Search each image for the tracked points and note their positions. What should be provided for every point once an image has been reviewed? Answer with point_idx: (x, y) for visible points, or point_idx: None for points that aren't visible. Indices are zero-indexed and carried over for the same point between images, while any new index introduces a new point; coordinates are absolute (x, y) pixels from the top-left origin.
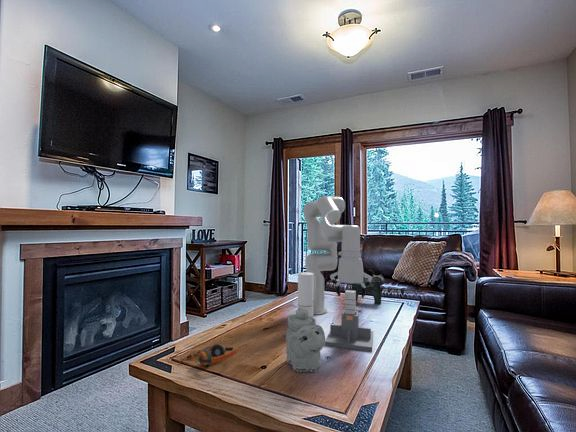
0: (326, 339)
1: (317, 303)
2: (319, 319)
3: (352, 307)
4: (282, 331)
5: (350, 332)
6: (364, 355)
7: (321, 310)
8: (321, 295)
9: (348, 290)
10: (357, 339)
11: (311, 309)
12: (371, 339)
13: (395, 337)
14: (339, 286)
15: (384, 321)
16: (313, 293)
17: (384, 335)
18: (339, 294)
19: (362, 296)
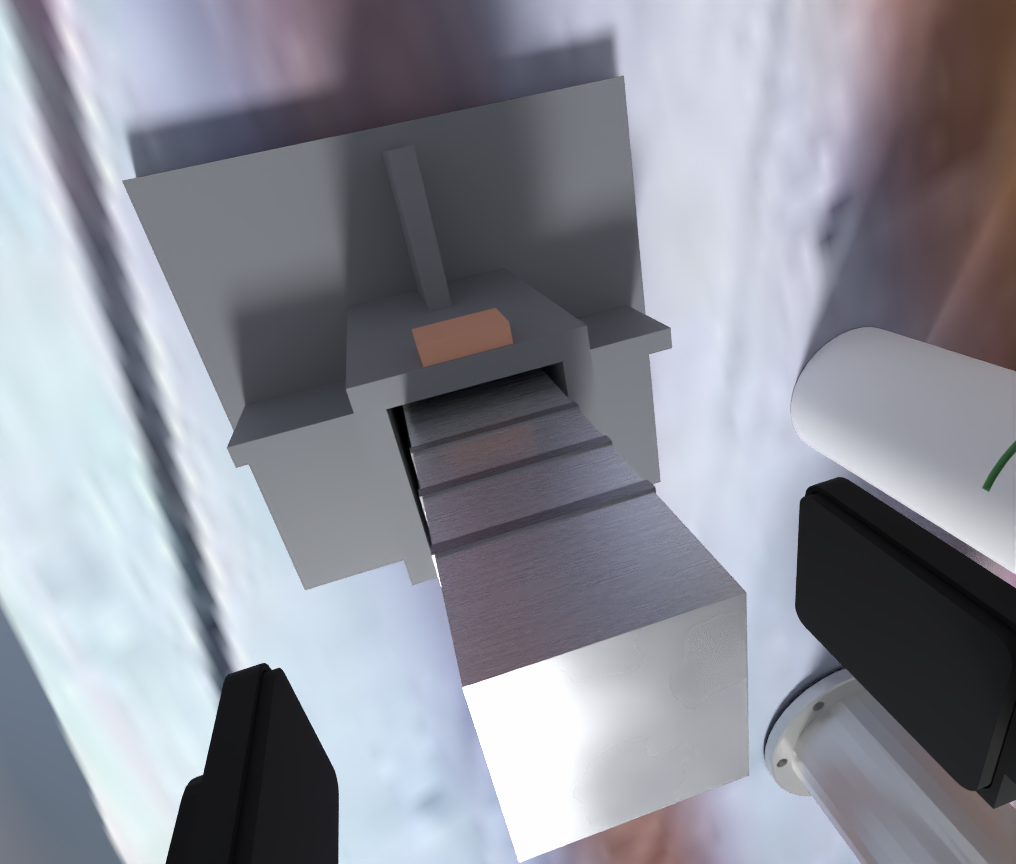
0: (624, 147)
1: (877, 762)
2: (783, 615)
3: (460, 459)
4: (1007, 218)
5: (424, 301)
6: (154, 15)
7: (808, 735)
8: (901, 849)
9: (689, 776)
10: (347, 307)
11: (954, 455)
12: (232, 396)
13: (114, 629)
14: (1010, 714)
15: (342, 851)
16: (983, 826)
17: (218, 615)
18: (831, 508)
19: (247, 691)
